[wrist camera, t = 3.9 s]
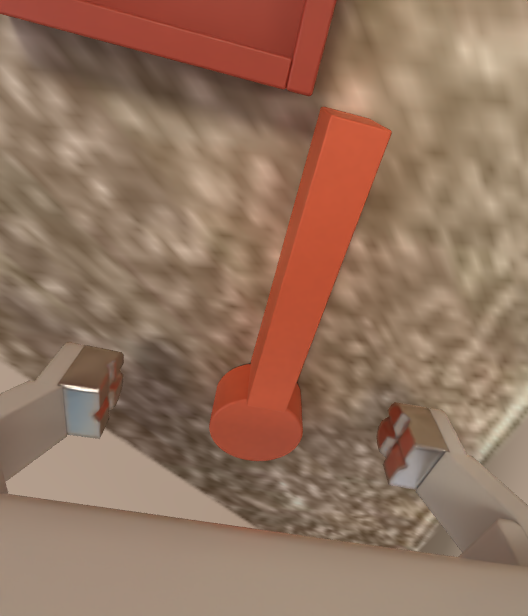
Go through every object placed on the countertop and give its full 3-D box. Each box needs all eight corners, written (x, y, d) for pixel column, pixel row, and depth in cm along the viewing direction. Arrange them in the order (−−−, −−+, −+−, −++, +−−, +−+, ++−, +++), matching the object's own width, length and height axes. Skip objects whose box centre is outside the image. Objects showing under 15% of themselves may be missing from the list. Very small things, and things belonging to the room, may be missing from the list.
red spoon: (281, 95, 10) (281, 101, 8) (408, 129, 10) (440, 143, 8) (210, 414, 17) (201, 461, 15) (288, 429, 17) (289, 477, 15)
